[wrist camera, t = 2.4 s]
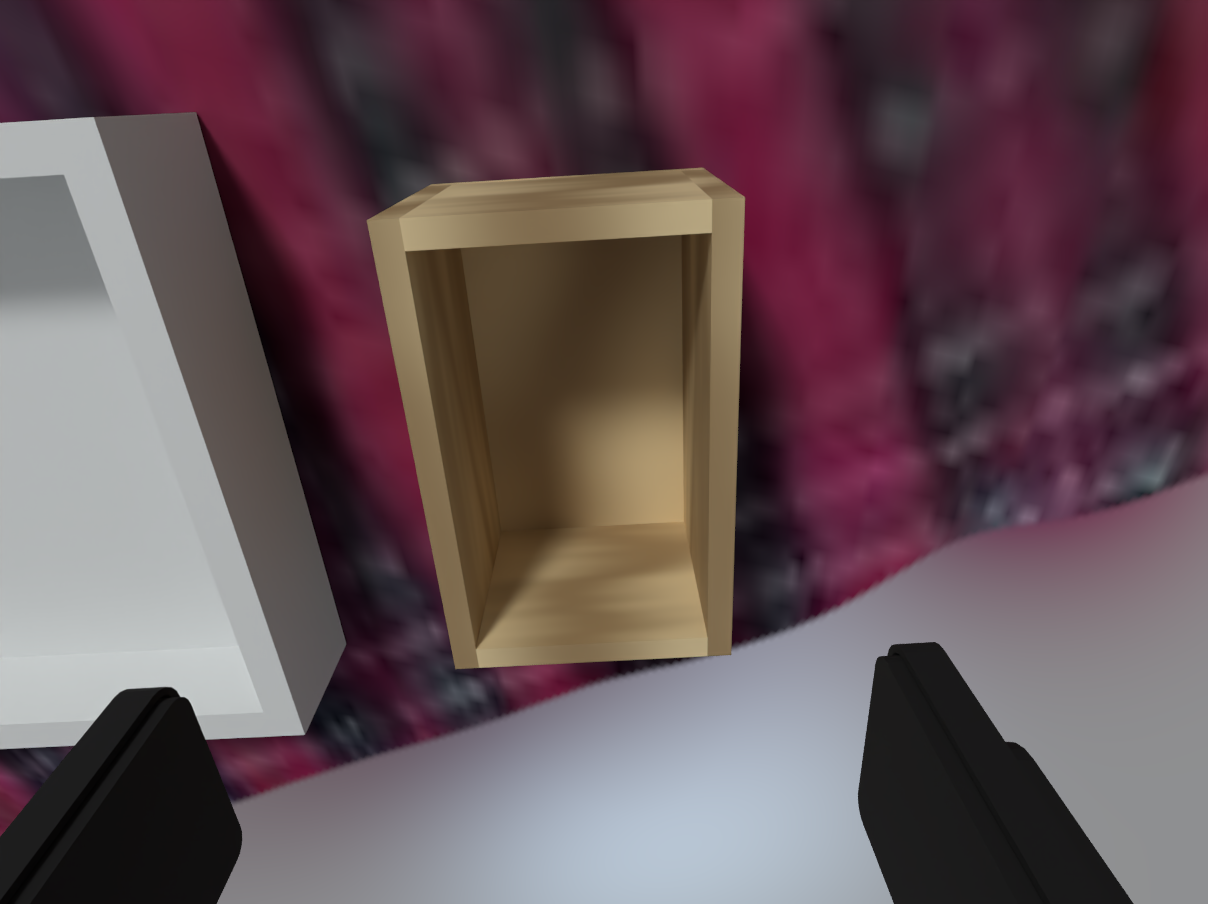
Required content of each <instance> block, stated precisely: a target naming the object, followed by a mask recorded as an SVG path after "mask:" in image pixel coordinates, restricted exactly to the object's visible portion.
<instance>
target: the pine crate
mask: <svg viewBox="0 0 1208 904" xmlns="http://www.w3.org/2000/svg"><path fill="white" fill-rule="evenodd" d="M744 212H745V197H744V196H742V195H741V194H740V193H738V192H737V191H735V190H734V189H732V188H731V187H730V186H728V185H727V184H725V183H724V182H722V181H721V180H719V179H718V178H717V177H715V176H714V175H712V174H711V173H709V172H708V171H707V170H705V169H704V168H691V169H675V170H658V171H642V172H626V173H610V174H593V175H577V176H561V177H544V178H528V179H512V180H495V181H479V182H463V183H447V184H431V185H429V186H428V187H426V188H424V189H422V190H420V191H419V192H417V193H415V194H413V195H411V196H410V197H408V198H406V199H404V200H402V201H401V202H399V203H397V204H395V205H393V206H392V207H390V208H388V209H386V210H384V211H383V212H381V213H379V214H377V215H375V216H374V217H372V218H370V219H368V220H367V224H368V229H369V234H370V239H371V244H372V249H373V254H374V259H375V264H376V269H377V274H378V280H379V285H380V290H381V295H382V300H383V305H384V310H385V315H386V320H387V325H388V330H389V335H390V340H391V345H392V350H393V355H394V360H395V365H396V370H397V375H398V380H399V386H400V391H401V396H402V401H403V406H404V411H405V416H406V421H407V426H408V431H409V436H410V441H411V446H412V451H413V456H414V461H415V466H416V471H417V476H418V481H419V486H420V492H421V497H422V502H423V507H424V512H425V517H426V522H427V527H428V532H429V537H430V542H431V547H432V552H433V557H434V562H435V567H436V572H437V577H438V582H439V587H440V592H441V598H442V603H443V608H444V613H445V618H446V623H447V628H448V633H449V638H450V643H451V648H452V653H453V658H454V663H455V668H456V669H463V668H483V667H503V666H522V665H542V664H562V663H582V662H601V661H621V660H641V659H661V658H681V657H700V656H720V655H731V643H732V610H733V577H734V544H735V510H736V477H737V444H738V411H739V378H740V344H741V311H742V278H743V245H744Z"/></svg>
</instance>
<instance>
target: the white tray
mask: <svg viewBox="0 0 1208 904" xmlns="http://www.w3.org/2000/svg"><path fill="white" fill-rule="evenodd" d="M345 646H346V641H345V637H344V634H343V630H342V626H341V623H340V619H339V616H338V612H337V609H336V605H335V602H334V598H333V595H332V591H331V588H330V584H329V581H328V577H327V573H326V570H325V566H324V563H323V559H322V556H321V552H320V549H319V545H318V542H317V538H316V535H315V531H314V528H313V524H312V520H311V517H310V513H309V510H308V506H307V503H306V499H305V496H304V492H303V489H302V485H301V482H300V478H299V475H298V471H297V467H296V464H295V460H294V457H293V453H292V450H291V446H290V443H289V439H288V436H287V432H286V429H285V425H284V421H283V418H282V414H281V411H280V407H279V404H278V400H277V397H276V393H275V390H274V386H273V383H272V379H271V376H270V372H269V368H268V365H267V361H266V358H265V354H264V351H263V347H262V344H261V340H260V337H259V333H258V330H257V326H256V323H255V319H254V315H253V312H252V308H251V305H250V301H249V298H248V294H247V291H246V287H245V284H244V280H243V277H242V273H241V270H240V266H239V262H238V259H237V255H236V252H235V248H234V245H233V241H232V238H231V234H230V231H229V227H228V224H227V220H226V216H225V213H224V209H223V206H222V202H221V199H220V195H219V192H218V188H217V185H216V181H215V178H214V174H213V171H212V167H211V163H210V160H209V156H208V153H207V149H206V146H205V142H204V139H203V135H202V132H201V128H200V125H199V121H198V118H197V114H196V112H192V113H171V114H150V115H130V116H109V117H90V118H74V119H58V120H43V121H27V122H11V123H0V749H13V748H34V747H56V746H75V745H76V743H77V742H78V741H79V740H80V739H81V737H82V736H83V735H84V734H85V732H86V731H87V730H88V729H89V728H90V726H91V725H92V724H93V723H94V721H95V720H96V719H97V718H98V717H99V715H100V714H101V713H102V712H103V710H104V709H105V708H106V707H107V705H108V704H109V703H110V702H111V701H112V699H113V698H114V697H115V696H116V695H117V694H118V693H119V692H121V691H123V690H126V689H136V688H153V687H172V688H174V689H175V690H177V692H178V694H179V695H180V697H185V698H187V699H188V700H189V701H190V703H191V705H192V708H193V710H194V712H195V715H196V717H197V720H198V722H199V725H200V727H201V730H202V732H203V735H204V737H205V740H206V739H228V738H249V737H271V736H292V735H305V734H306V731H307V729H308V727H309V725H310V723H311V721H312V718H313V716H314V714H315V712H316V710H317V707H318V705H319V703H320V701H321V699H322V696H323V694H324V692H325V690H326V688H327V686H328V683H329V681H330V679H331V677H332V675H333V672H334V670H335V668H336V666H337V664H338V661H339V659H340V657H341V655H342V653H343V651H344V648H345Z"/></svg>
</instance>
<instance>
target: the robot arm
mask: <svg viewBox="0 0 1208 904" xmlns="http://www.w3.org/2000/svg"><path fill="white" fill-rule="evenodd" d="M858 804H859V810H860V815H861V819H862V822H863V825H864V828H865V830H866V833H867V835H868V838H869V840H870V843H871V846H872V848H873V851H874V853H875V856H876V858H877V861H878V864H879V866H880V869H881V871H882V874H883V877H884V879H885V882H886V884H887V887H888V889H889V892H890V895H891V896H892V900H893V902H894V904H1133V902H1132V901H1131V900H1130V898H1129V897H1128V895H1127V894H1126V892H1125V891H1124V889H1123V888H1122V886H1121V885H1120V884H1119V882H1118V881H1117V879H1116V878H1115V877H1114V875H1113V873H1112V872H1111V870H1110V869H1109V868H1108V866H1107V865H1106V863H1105V862H1104V860H1103V859H1102V857H1101V856H1100V855H1099V853H1098V852H1097V850H1096V849H1095V847H1094V846H1093V844H1092V843H1091V842H1090V840H1089V839H1088V837H1087V836H1086V834H1085V833H1084V832H1083V830H1082V829H1081V827H1080V826H1079V824H1078V823H1077V821H1076V820H1075V818H1074V817H1073V816H1072V814H1071V813H1070V811H1069V810H1068V808H1067V807H1066V806H1065V804H1064V803H1063V801H1062V800H1061V798H1060V797H1059V795H1058V794H1057V792H1056V791H1055V789H1054V788H1053V787H1052V785H1051V784H1050V782H1049V781H1048V779H1047V778H1046V776H1045V775H1044V774H1043V772H1042V771H1041V770H1040V768H1039V766H1038V765H1037V763H1036V762H1035V761H1034V759H1033V758H1032V757H1031V756H1030V755H1029V753H1028V752H1027V751H1026V750H1025V749H1024V748H1023V747H1021V746H1020V745H1018V744H1017V743H1014V742H1005V741H1004V739H1003V738H1002V736H1001V735H1000V733H999V732H998V730H997V729H996V727H995V726H994V724H993V723H992V721H991V720H990V718H989V717H988V715H987V714H986V712H985V711H984V709H983V708H982V706H981V705H980V703H979V702H978V700H977V699H976V697H975V696H974V694H973V693H972V691H971V690H970V688H969V687H968V685H967V684H966V682H965V681H964V679H963V678H962V676H961V675H960V673H959V672H958V670H957V669H956V667H955V666H954V664H953V663H952V661H951V660H950V658H949V657H948V655H947V654H946V652H945V651H944V650H943V648H942V647H941V646H940V645H939V644H937V643H936V642H928V643H911V644H895V645H892V646H891V647H890V649H889V652H888V656H881V657H878V658H877V661H876V664H875V672H874V679H873V686H872V694H871V701H870V709H869V716H868V723H867V731H866V739H865V746H864V753H863V761H862V768H861V776H860V783H859V790H858ZM241 845H242V831H241V827H240V824H239V822H238V819H237V817H236V814H235V812H234V809H233V807H232V804H231V802H230V799H229V797H228V794H227V792H226V789H225V787H224V784H223V782H222V780H221V777H220V775H219V772H218V770H217V767H216V765H215V762H214V760H213V757H212V755H211V752H210V750H209V747H208V745H207V742H206V740H205V737H204V735H203V732H202V730H201V727H200V725H199V722H198V720H197V717H196V715H195V712H194V710H193V708H192V705H191V703H190V701H189V700H188V699H187V698H185V697H180V695H179V694H178V692H177V690H175V689H174V688H172V687H153V688H136V689H126V690H123V691H121V692H119V693H118V694H117V695H116V696H115V697H114V698H113V699H112V701H111V702H110V703H109V704H108V705H107V707H106V708H105V709H104V710H103V712H102V713H101V714H100V715H99V717H98V718H97V719H96V720H95V721H94V723H93V724H92V725H91V726H90V728H89V729H88V730H87V731H86V732H85V734H84V735H83V736H82V737H81V739H80V740H79V741H78V742H77V743H76V745H75V746H74V747H73V748H72V750H71V751H70V752H69V753H68V755H67V756H66V757H65V758H64V759H63V761H62V762H61V763H60V764H59V766H58V767H57V768H56V769H55V770H54V772H53V773H52V774H51V775H50V777H49V778H48V779H47V780H46V782H45V783H44V784H43V785H42V786H41V788H40V789H39V790H38V791H37V793H36V794H35V795H34V796H33V797H32V799H31V800H30V801H29V802H28V804H27V805H26V806H25V807H24V808H23V810H22V811H21V812H20V813H19V815H18V816H17V817H16V818H15V820H14V821H13V822H12V823H11V824H10V826H9V827H8V828H7V829H6V831H5V832H4V833H3V834H2V835H1V837H0V904H217V902H218V899H219V897H220V895H221V893H222V891H223V889H224V887H225V885H226V883H227V881H228V878H229V876H230V874H231V872H232V870H233V868H234V866H235V864H236V861H237V859H238V857H239V854H240V850H241Z"/></svg>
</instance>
